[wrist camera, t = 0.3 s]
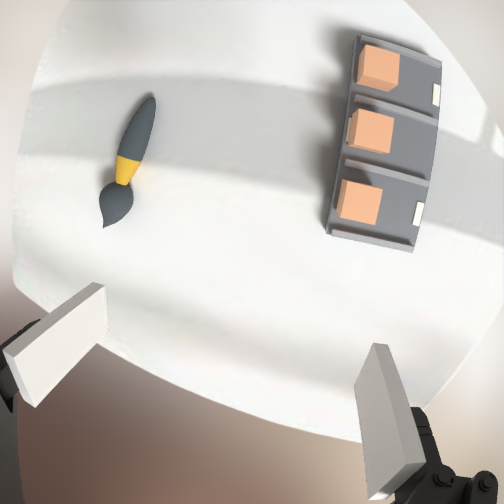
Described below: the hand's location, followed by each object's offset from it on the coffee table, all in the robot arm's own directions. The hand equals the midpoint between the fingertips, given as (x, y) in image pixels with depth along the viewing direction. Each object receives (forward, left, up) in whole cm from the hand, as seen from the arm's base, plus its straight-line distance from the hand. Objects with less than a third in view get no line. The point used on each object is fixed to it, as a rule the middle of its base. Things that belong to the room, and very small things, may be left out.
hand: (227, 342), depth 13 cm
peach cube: (-13, +9, -24) cm, 29 cm away
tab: (-21, +9, -24) cm, 34 cm away
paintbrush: (-5, -21, -27) cm, 35 cm away
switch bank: (-13, +13, -27) cm, 32 cm away
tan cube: (-5, +9, -24) cm, 27 cm away
